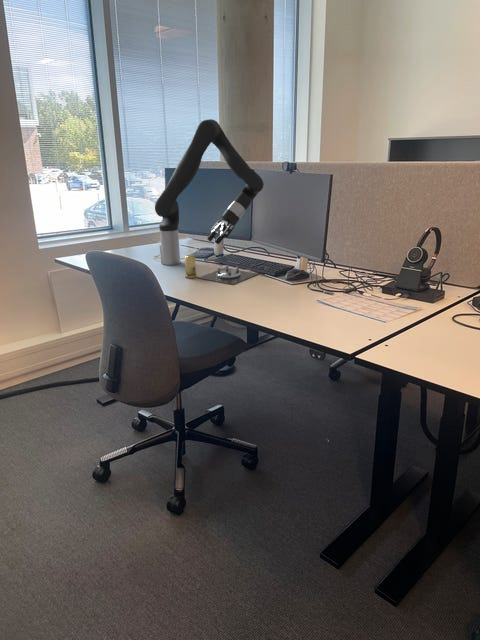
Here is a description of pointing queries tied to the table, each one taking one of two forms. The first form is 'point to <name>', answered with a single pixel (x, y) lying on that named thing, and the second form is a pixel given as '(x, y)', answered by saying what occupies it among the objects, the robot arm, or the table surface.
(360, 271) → the table surface
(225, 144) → the robot arm
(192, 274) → the gold upright cylinder
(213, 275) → the flange
